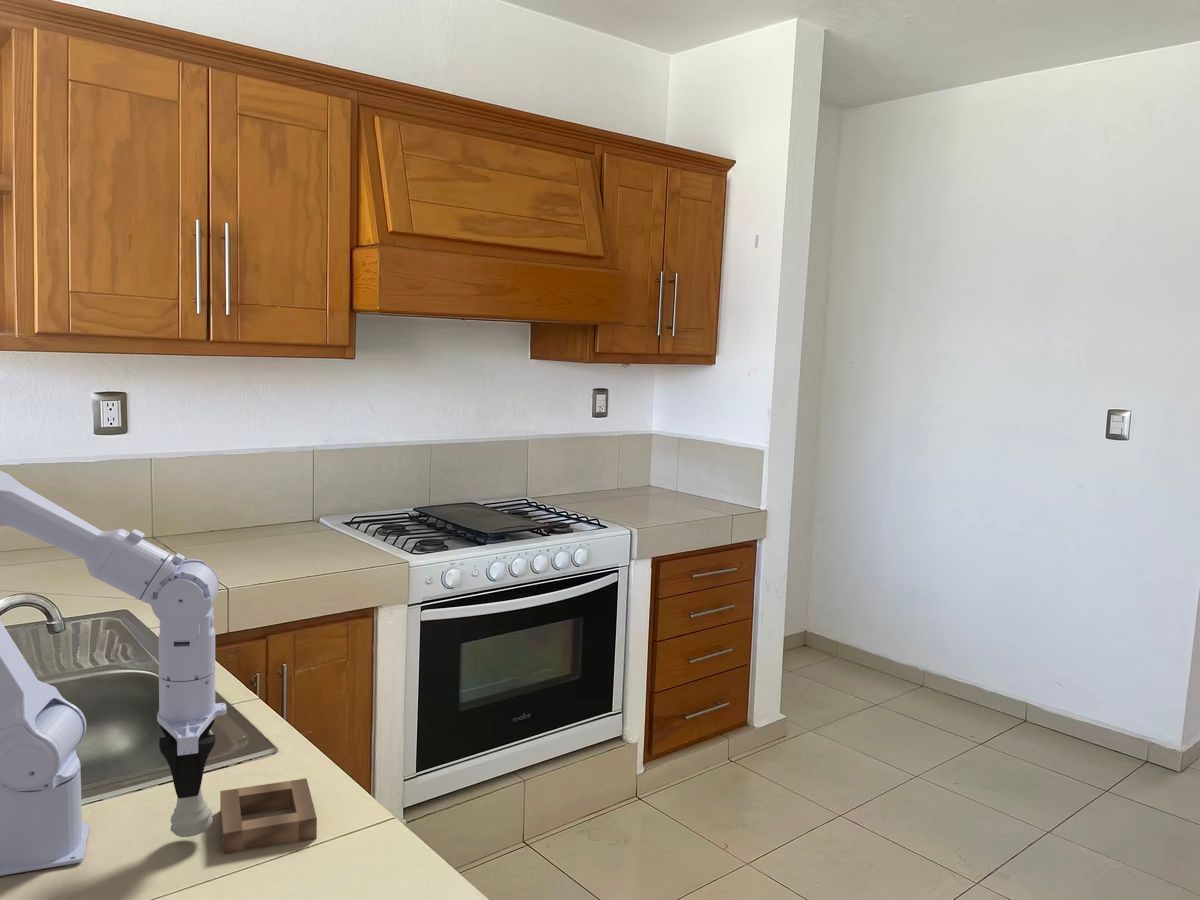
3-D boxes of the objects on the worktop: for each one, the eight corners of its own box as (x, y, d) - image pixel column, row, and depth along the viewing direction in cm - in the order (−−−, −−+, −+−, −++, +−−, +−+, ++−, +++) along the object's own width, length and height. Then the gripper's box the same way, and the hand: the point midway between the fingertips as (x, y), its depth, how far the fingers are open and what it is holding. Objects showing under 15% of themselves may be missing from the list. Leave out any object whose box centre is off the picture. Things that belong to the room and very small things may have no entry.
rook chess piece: (198, 840, 102) (192, 772, 101) (161, 836, 103) (156, 769, 102) (221, 818, 107) (216, 753, 106) (186, 815, 108) (181, 751, 106)
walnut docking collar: (223, 854, 103) (223, 833, 103) (220, 810, 112) (220, 791, 112) (316, 838, 107) (316, 818, 107) (306, 797, 116) (306, 778, 116)
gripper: (228, 692, 98) (228, 813, 99) (223, 647, 111) (223, 754, 112) (154, 700, 95) (156, 824, 97) (158, 652, 108) (159, 763, 110)
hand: (187, 787), depth 104 cm, fingers closed on rook chess piece, 3 cm apart
